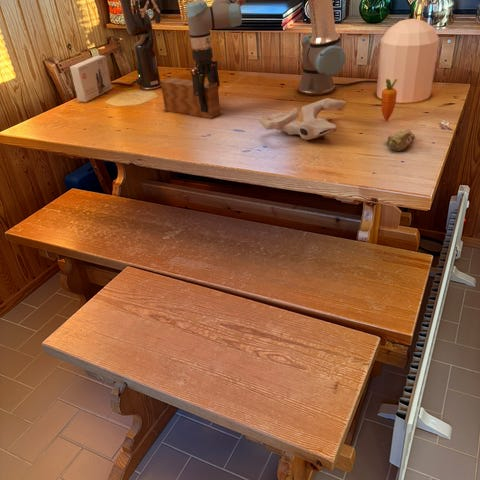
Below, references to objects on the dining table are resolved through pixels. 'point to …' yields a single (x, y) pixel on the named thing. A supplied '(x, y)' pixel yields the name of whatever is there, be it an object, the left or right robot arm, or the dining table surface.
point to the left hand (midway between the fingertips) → (150, 25)
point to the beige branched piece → (305, 120)
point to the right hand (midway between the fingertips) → (209, 108)
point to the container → (408, 60)
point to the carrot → (388, 99)
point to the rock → (400, 140)
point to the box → (189, 97)
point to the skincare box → (91, 78)
